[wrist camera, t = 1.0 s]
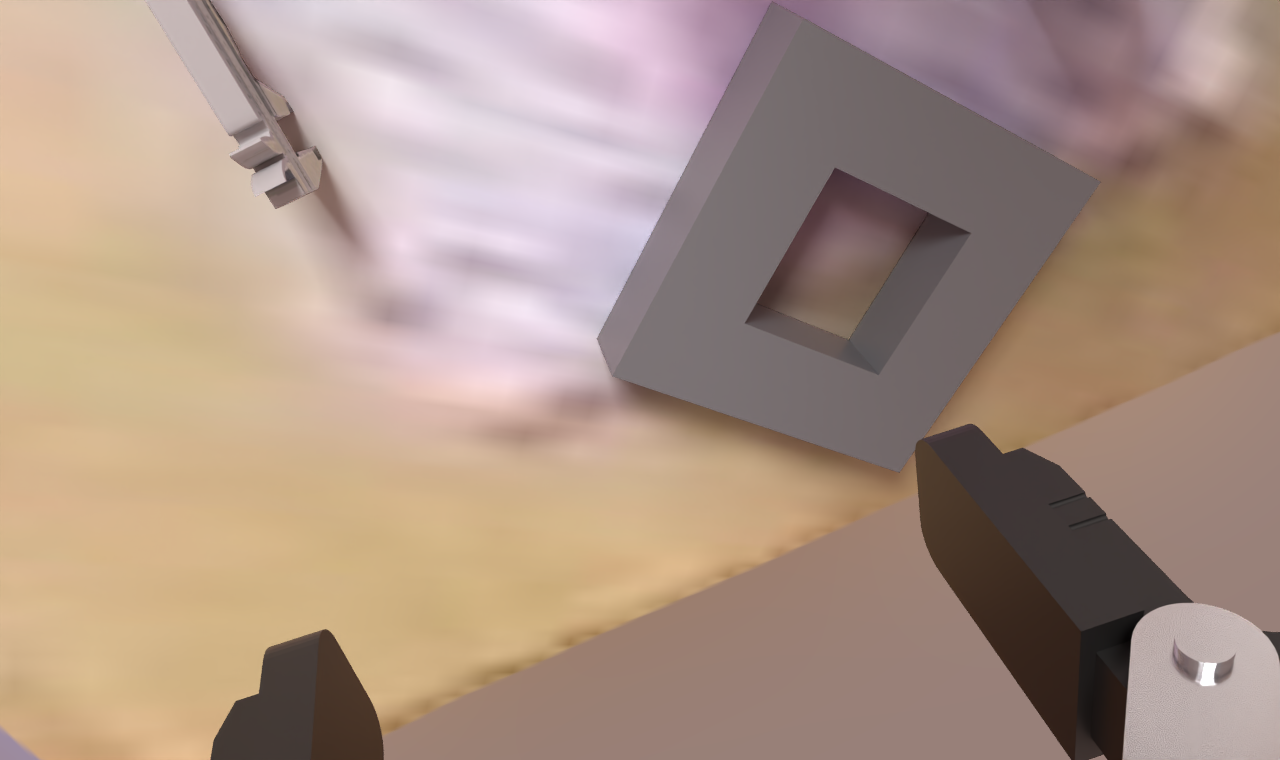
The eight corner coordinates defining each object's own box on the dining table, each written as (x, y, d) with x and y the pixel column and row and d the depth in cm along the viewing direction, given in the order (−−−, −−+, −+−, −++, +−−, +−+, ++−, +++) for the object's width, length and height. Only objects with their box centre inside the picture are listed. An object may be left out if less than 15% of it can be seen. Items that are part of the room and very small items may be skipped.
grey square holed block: (772, 1, 34) (803, 18, 32) (1055, 156, 40) (1100, 181, 38) (597, 338, 40) (612, 376, 37) (870, 434, 45) (899, 472, 43)
